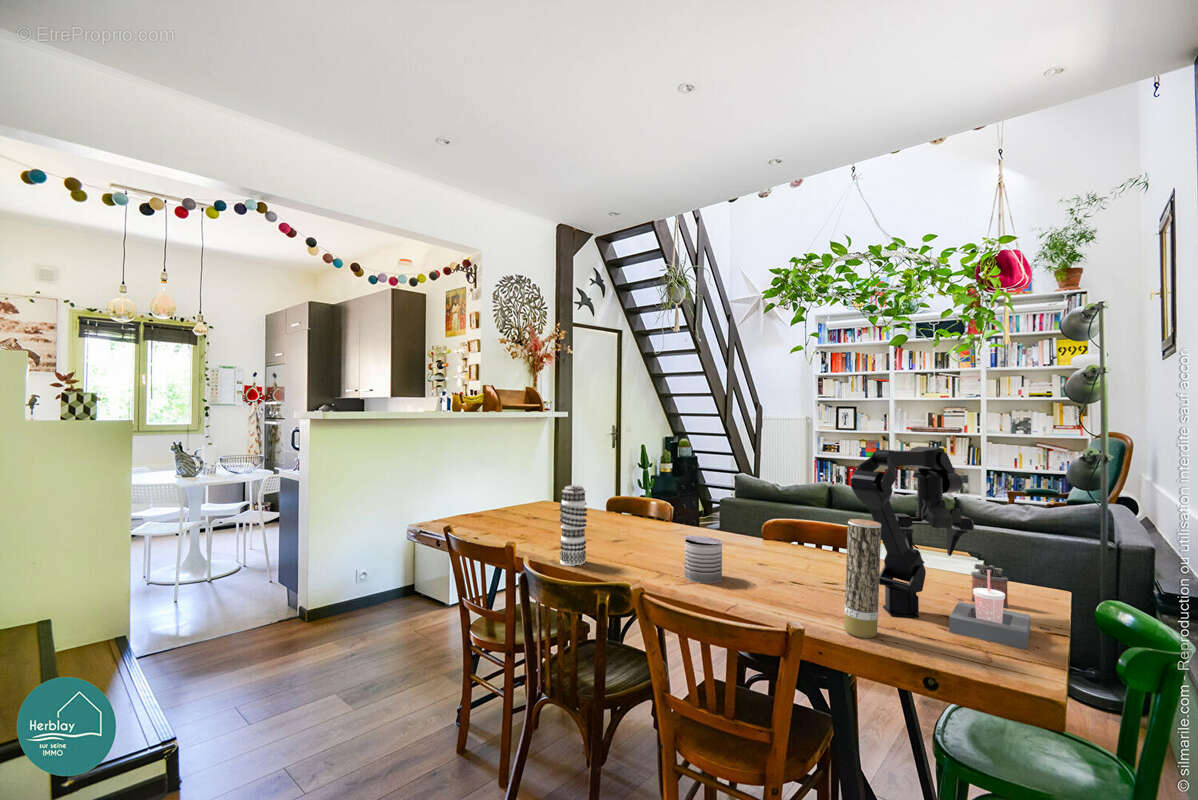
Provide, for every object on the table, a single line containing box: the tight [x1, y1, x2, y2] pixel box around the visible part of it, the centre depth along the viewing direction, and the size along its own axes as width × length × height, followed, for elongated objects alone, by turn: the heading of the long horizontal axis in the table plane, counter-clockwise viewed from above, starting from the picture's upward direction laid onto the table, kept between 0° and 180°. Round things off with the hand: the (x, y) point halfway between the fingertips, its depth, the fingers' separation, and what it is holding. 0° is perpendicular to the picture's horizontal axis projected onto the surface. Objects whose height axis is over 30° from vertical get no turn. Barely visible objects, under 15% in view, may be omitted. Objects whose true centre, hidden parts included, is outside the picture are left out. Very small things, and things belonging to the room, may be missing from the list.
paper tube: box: [843, 518, 882, 639], centre depth 126 cm, size 7×7×25 cm
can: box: [683, 535, 724, 584], centre depth 168 cm, size 11×11×12 cm
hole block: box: [948, 601, 1031, 650], centre depth 128 cm, size 14×14×4 cm
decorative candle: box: [559, 484, 588, 567], centre depth 184 cm, size 9×9×25 cm
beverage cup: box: [973, 570, 1005, 624], centre depth 128 cm, size 6×6×14 cm
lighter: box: [970, 563, 1009, 609], centre depth 147 cm, size 8×3×10 cm, turn 44°
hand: (930, 554), depth 146 cm, fingers open, 9 cm apart
